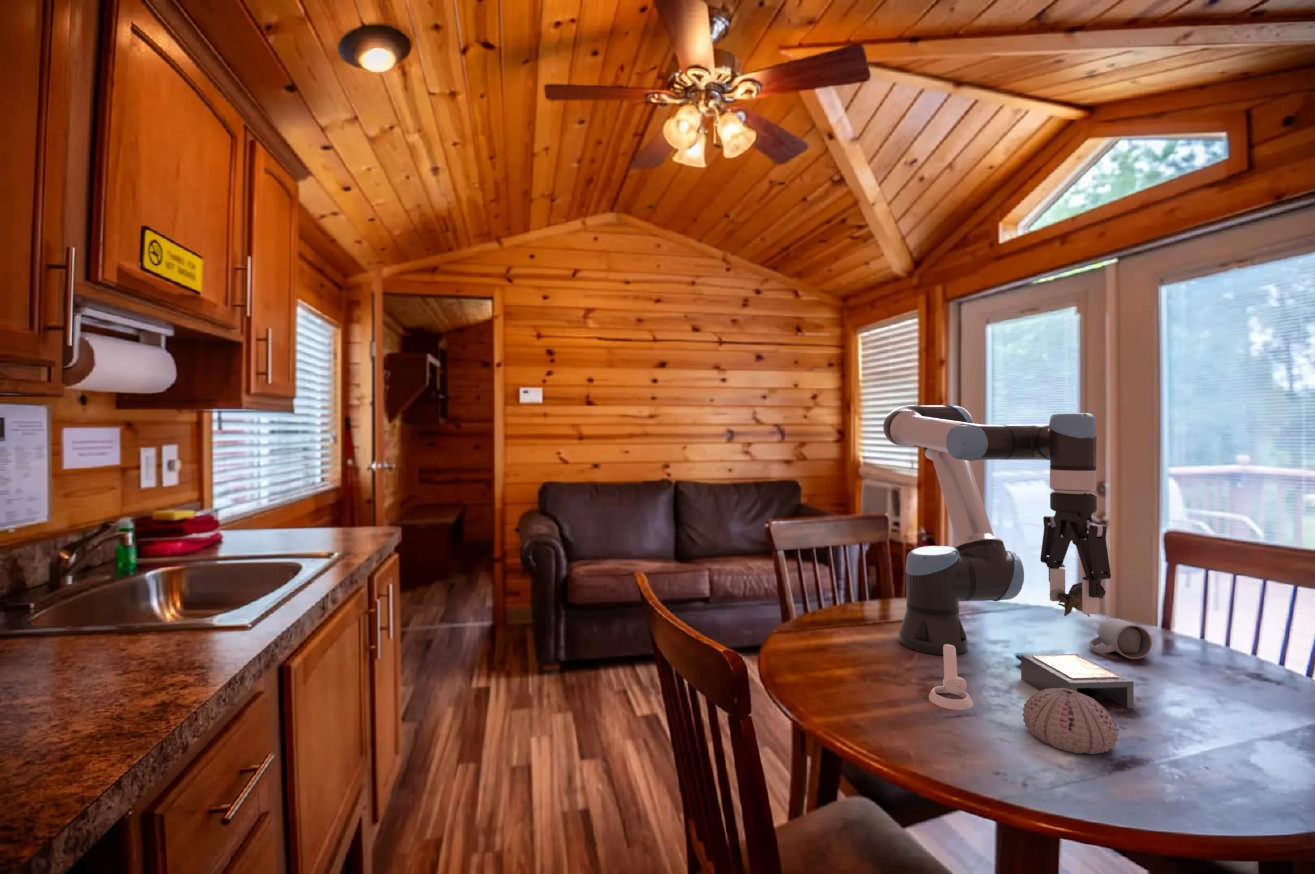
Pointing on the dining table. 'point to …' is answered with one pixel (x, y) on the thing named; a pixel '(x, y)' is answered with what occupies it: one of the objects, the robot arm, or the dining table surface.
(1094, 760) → the dining table surface
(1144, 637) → the ceramic mug
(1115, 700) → the dark boxy piece
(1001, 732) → the dining table surface
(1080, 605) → the eagle figurine
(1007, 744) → the dining table surface
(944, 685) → the vr controller
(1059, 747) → the sea urchin shell
